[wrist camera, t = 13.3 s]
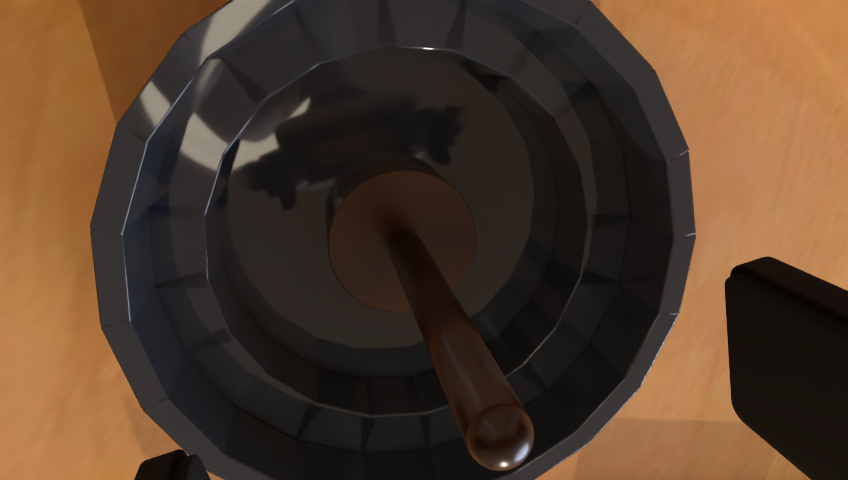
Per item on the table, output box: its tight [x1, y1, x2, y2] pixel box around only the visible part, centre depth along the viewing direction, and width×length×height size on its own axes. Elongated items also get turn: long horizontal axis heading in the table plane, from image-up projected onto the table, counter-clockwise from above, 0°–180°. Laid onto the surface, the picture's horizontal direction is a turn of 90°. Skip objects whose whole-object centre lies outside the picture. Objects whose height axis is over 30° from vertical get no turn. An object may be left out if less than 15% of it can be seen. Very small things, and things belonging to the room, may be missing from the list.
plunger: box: [326, 160, 534, 471], centre depth 16 cm, size 5×5×13 cm
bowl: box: [90, 0, 696, 480], centre depth 20 cm, size 18×18×6 cm
